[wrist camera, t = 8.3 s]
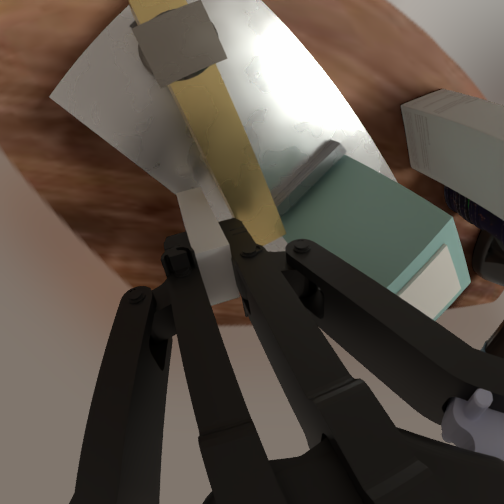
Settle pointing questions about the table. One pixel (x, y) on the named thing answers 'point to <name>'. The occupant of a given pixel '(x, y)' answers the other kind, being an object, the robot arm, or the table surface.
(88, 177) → the table surface
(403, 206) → the mint green box
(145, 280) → the table surface
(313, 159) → the white base platform
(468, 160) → the supplement box
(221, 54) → the hammer with yellow handle
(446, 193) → the storage jar
